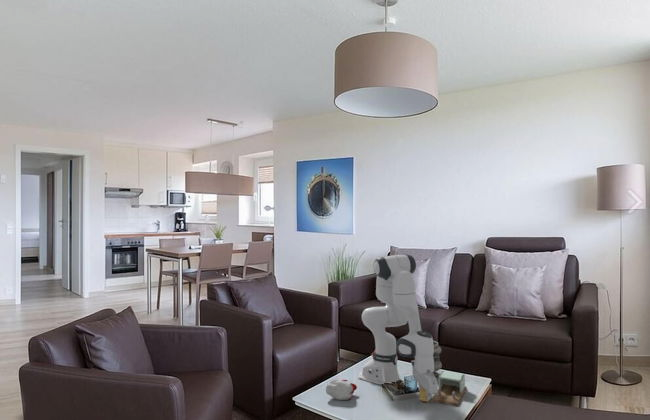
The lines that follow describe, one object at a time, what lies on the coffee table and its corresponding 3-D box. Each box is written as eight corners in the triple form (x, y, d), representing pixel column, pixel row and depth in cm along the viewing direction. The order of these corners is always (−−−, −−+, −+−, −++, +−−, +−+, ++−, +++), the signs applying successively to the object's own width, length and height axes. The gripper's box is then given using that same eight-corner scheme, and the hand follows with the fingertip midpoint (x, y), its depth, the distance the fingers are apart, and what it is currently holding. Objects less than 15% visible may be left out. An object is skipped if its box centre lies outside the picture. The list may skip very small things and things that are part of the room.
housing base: (431, 401, 199) (431, 392, 199) (442, 384, 218) (442, 376, 219) (457, 406, 193) (457, 397, 193) (466, 388, 213) (466, 380, 213)
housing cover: (438, 389, 209) (438, 376, 209) (442, 383, 217) (442, 370, 217) (461, 393, 204) (461, 380, 204) (464, 386, 212) (464, 374, 212)
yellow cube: (419, 400, 199) (419, 390, 199) (422, 396, 202) (422, 387, 202) (428, 401, 197) (427, 392, 197) (430, 398, 200) (430, 389, 200)
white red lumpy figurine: (324, 398, 203) (345, 393, 214) (341, 405, 195) (362, 399, 206) (325, 379, 204) (346, 374, 215) (342, 385, 196) (363, 380, 207)
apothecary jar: (428, 380, 225) (427, 346, 225) (415, 373, 236) (414, 340, 236) (446, 377, 229) (446, 343, 229) (433, 369, 240) (432, 338, 241)
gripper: (440, 374, 190) (441, 404, 190) (421, 358, 210) (422, 386, 210) (427, 375, 189) (428, 406, 189) (409, 359, 209) (410, 387, 209)
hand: (424, 395), depth 200 cm, fingers closed on yellow cube, 6 cm apart
